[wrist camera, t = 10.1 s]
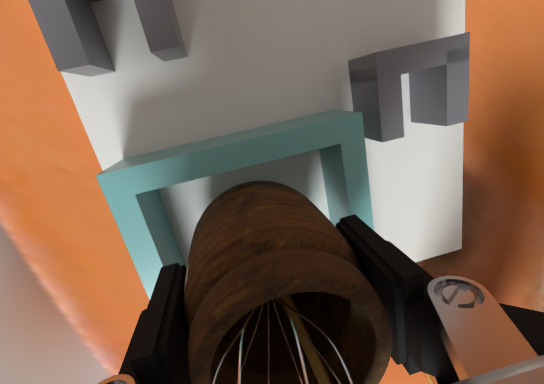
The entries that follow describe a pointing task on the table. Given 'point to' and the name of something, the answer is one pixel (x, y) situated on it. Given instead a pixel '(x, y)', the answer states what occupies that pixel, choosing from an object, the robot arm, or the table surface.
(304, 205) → the utensil holder
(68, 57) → the board
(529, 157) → the table surface
